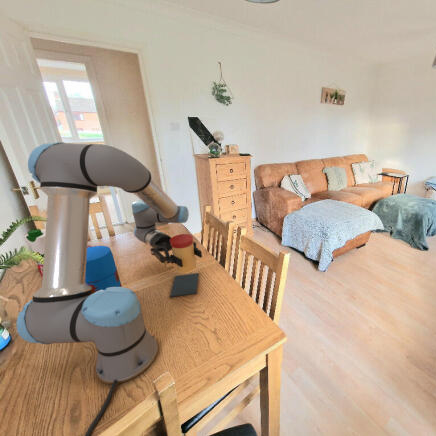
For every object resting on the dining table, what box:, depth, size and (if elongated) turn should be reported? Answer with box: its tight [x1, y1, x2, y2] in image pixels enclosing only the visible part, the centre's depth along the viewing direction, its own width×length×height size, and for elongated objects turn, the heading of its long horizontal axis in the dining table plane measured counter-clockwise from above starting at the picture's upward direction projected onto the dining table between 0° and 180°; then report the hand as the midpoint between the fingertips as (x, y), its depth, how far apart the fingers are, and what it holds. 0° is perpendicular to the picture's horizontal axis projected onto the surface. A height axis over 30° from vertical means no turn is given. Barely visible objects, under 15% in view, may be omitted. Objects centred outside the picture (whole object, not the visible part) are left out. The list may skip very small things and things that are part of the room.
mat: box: [169, 272, 200, 298], centre depth 104 cm, size 14×10×1 cm
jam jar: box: [171, 244, 197, 274], centre depth 93 cm, size 8×8×13 cm
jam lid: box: [170, 233, 195, 248], centre depth 91 cm, size 8×8×2 cm
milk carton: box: [23, 228, 46, 264], centre depth 108 cm, size 9×9×20 cm
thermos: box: [85, 245, 123, 294], centre depth 84 cm, size 11×11×25 cm
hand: (191, 258), depth 91 cm, fingers closed on jam jar, 8 cm apart
